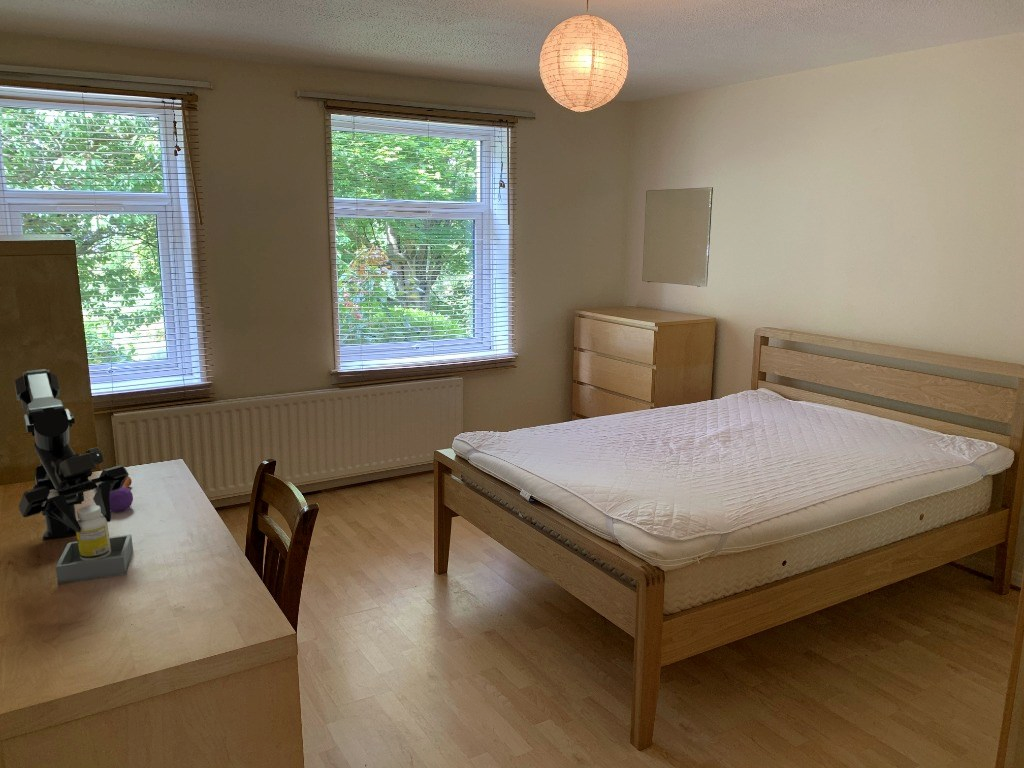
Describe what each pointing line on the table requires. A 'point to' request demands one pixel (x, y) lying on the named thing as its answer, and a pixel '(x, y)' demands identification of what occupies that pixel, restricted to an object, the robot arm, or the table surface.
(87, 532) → the supplement bottle
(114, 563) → the tray
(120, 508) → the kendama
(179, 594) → the table surface
